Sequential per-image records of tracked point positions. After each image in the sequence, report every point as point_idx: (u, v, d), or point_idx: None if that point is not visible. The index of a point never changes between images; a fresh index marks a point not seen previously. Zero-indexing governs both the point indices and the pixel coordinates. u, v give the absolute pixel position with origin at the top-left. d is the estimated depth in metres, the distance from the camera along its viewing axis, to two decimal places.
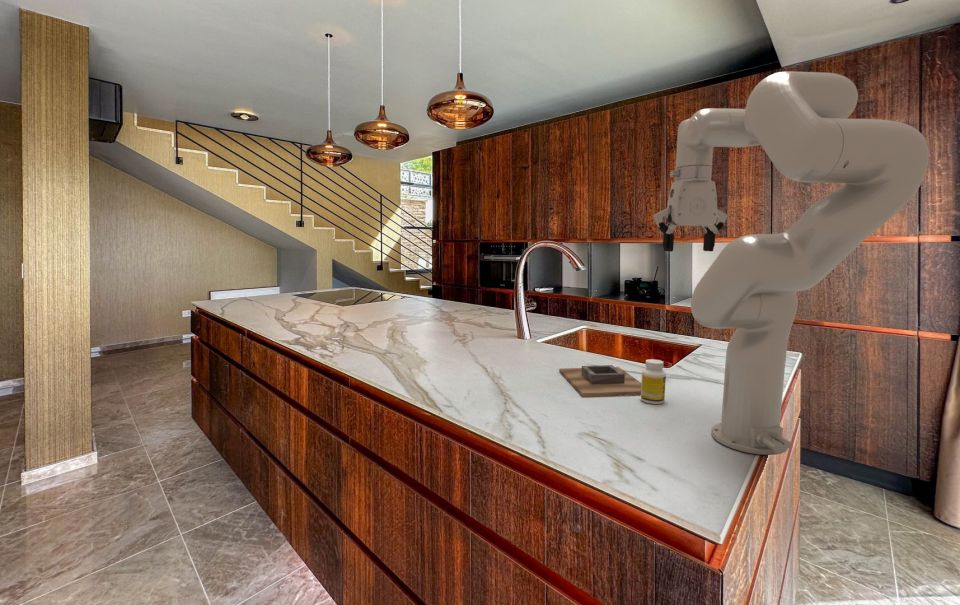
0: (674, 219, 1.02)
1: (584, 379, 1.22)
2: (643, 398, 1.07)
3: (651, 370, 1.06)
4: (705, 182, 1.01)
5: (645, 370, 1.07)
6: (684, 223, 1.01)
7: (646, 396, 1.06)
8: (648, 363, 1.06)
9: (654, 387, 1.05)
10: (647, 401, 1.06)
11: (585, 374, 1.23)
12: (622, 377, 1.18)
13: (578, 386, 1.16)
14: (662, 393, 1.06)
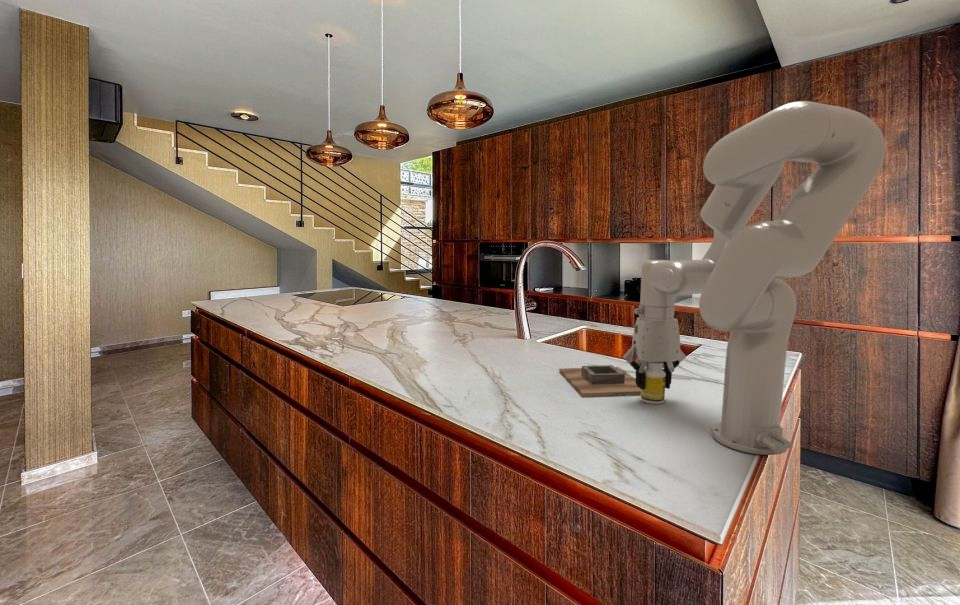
0: (638, 356, 1.04)
1: (584, 379, 1.22)
2: (643, 398, 1.07)
3: (651, 370, 1.06)
4: (668, 321, 1.03)
5: (645, 370, 1.07)
6: (648, 360, 1.04)
7: (646, 395, 1.06)
8: (648, 363, 1.06)
9: (654, 387, 1.05)
10: (647, 401, 1.06)
11: (585, 374, 1.23)
12: (622, 377, 1.18)
13: (578, 386, 1.16)
14: (662, 393, 1.06)
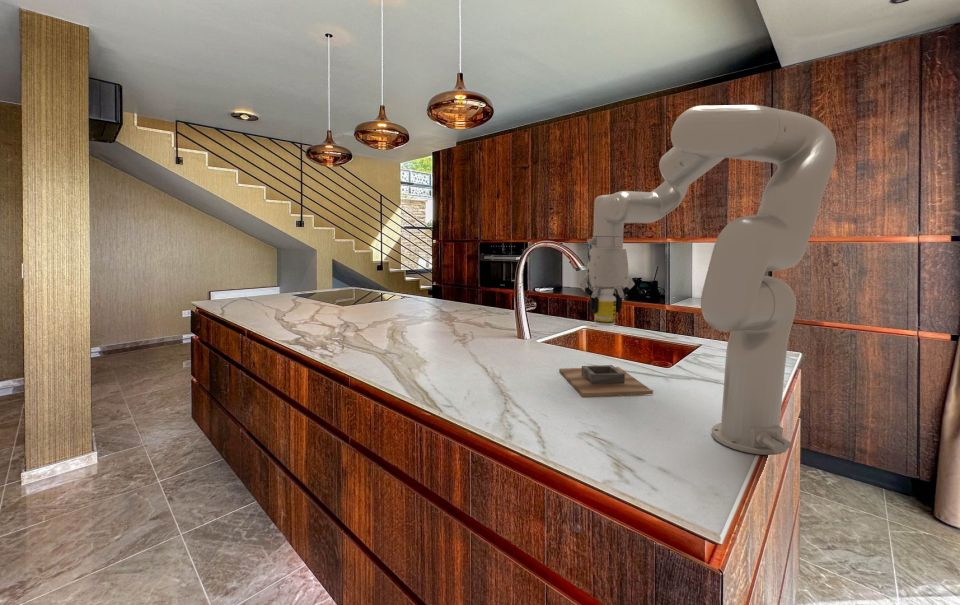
0: (590, 282, 1.16)
1: (584, 379, 1.22)
2: (596, 321, 1.19)
3: (603, 295, 1.18)
4: (617, 250, 1.15)
5: (598, 296, 1.19)
6: (599, 285, 1.16)
7: (598, 318, 1.18)
8: (600, 289, 1.18)
9: (605, 310, 1.17)
10: (599, 323, 1.18)
11: (585, 374, 1.23)
12: (622, 377, 1.18)
13: (578, 386, 1.16)
14: (612, 316, 1.18)
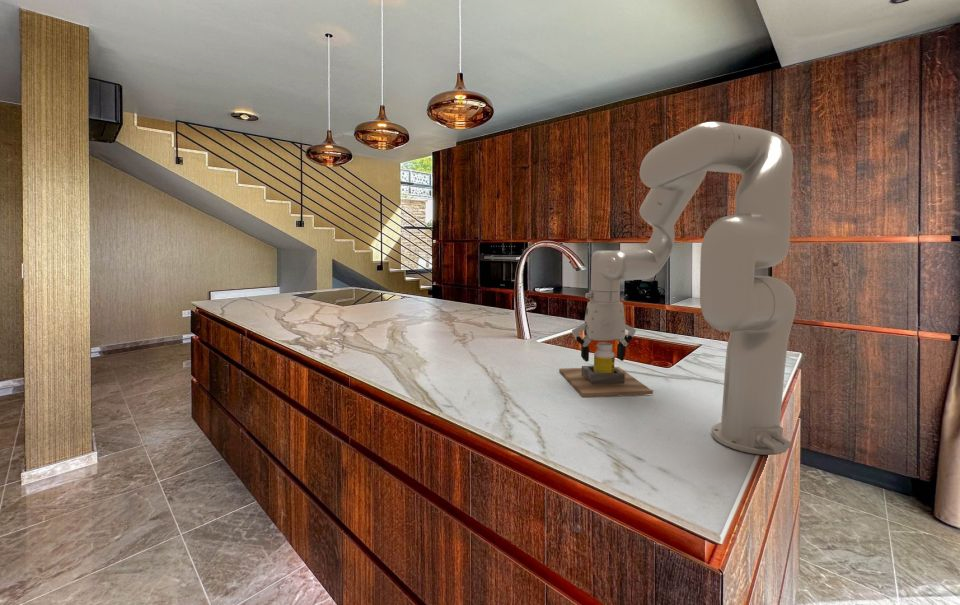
0: (588, 335, 1.18)
1: (584, 379, 1.22)
2: None
3: (601, 351, 1.20)
4: (614, 304, 1.17)
5: (596, 352, 1.21)
6: (596, 339, 1.18)
7: None
8: (599, 345, 1.20)
9: (604, 366, 1.19)
10: None
11: (585, 374, 1.23)
12: (622, 377, 1.18)
13: (578, 386, 1.16)
14: (611, 372, 1.20)
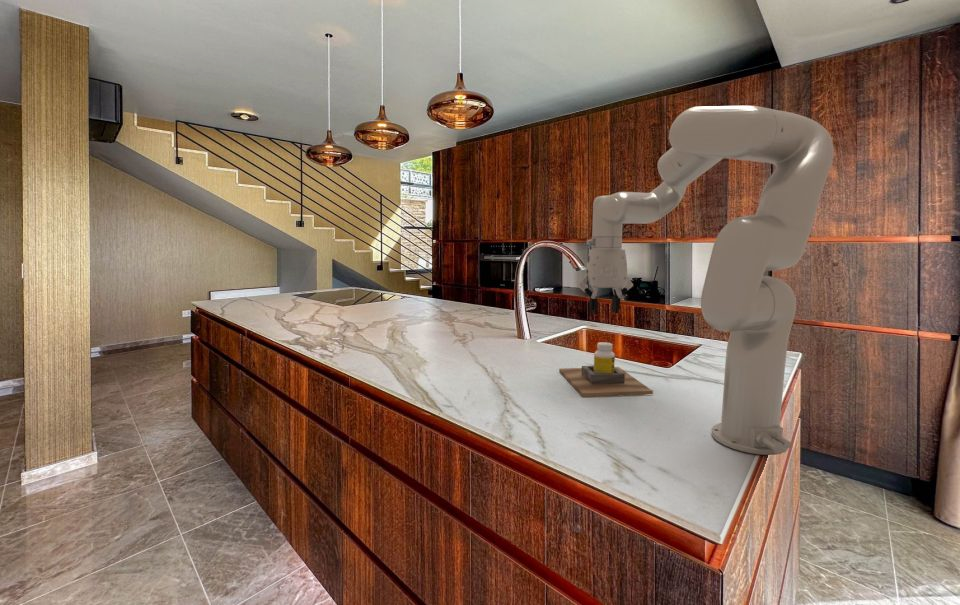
0: (590, 282, 1.16)
1: (584, 379, 1.22)
2: None
3: (601, 351, 1.20)
4: (616, 250, 1.15)
5: (596, 351, 1.21)
6: (598, 286, 1.16)
7: None
8: (599, 345, 1.20)
9: (604, 366, 1.19)
10: None
11: (585, 374, 1.23)
12: (622, 377, 1.18)
13: (578, 386, 1.16)
14: (611, 372, 1.20)
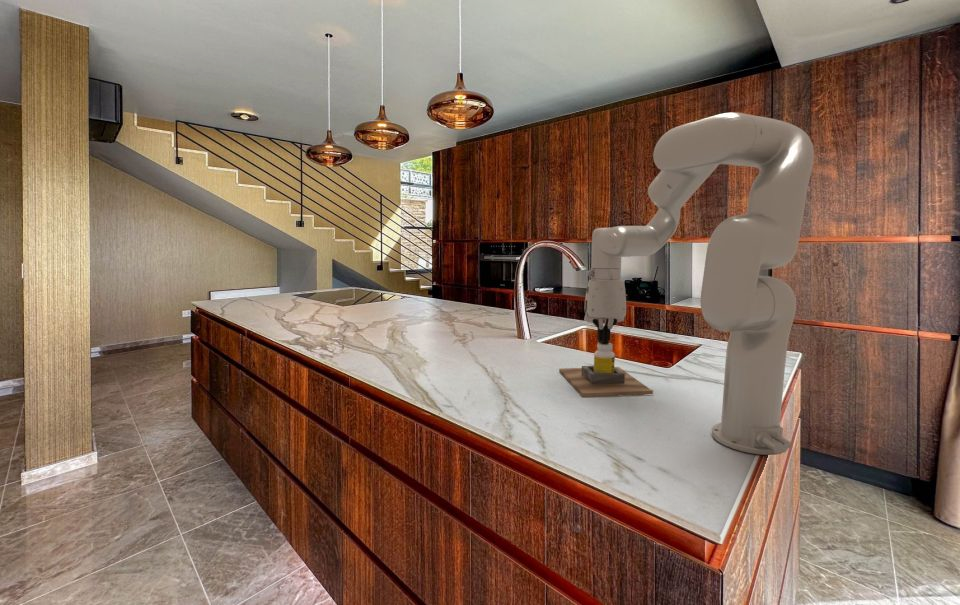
0: (589, 313, 1.17)
1: (584, 379, 1.22)
2: None
3: (601, 351, 1.20)
4: (615, 282, 1.16)
5: (596, 352, 1.21)
6: (597, 317, 1.17)
7: None
8: (599, 345, 1.20)
9: (604, 366, 1.19)
10: None
11: (585, 374, 1.23)
12: (622, 377, 1.18)
13: (578, 386, 1.16)
14: (611, 372, 1.20)
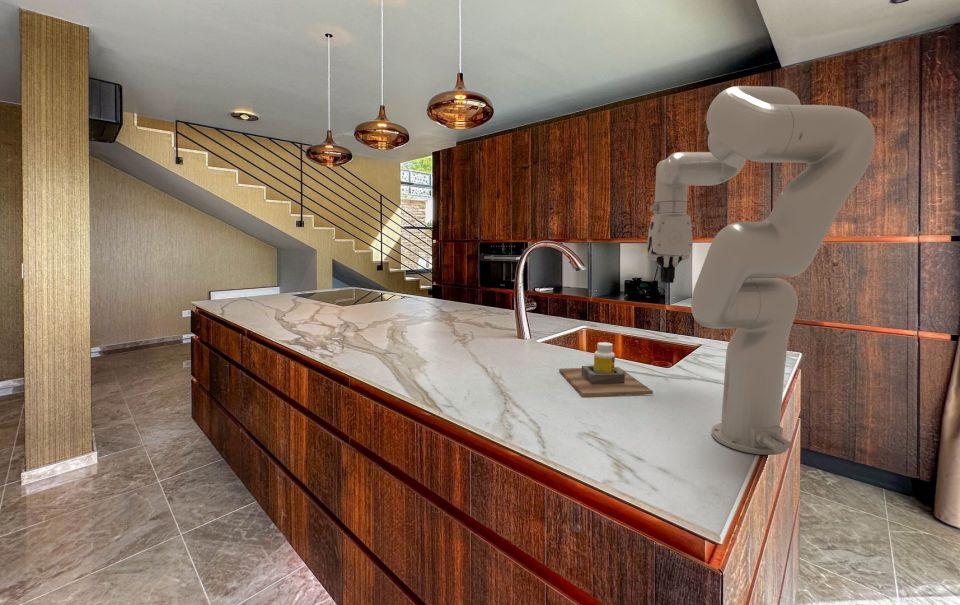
0: (654, 249, 1.12)
1: (584, 379, 1.22)
2: None
3: (601, 351, 1.20)
4: (681, 216, 1.11)
5: (597, 352, 1.21)
6: (663, 253, 1.12)
7: None
8: (599, 345, 1.20)
9: (604, 366, 1.19)
10: None
11: (585, 374, 1.23)
12: (622, 377, 1.18)
13: (578, 386, 1.16)
14: (611, 372, 1.20)
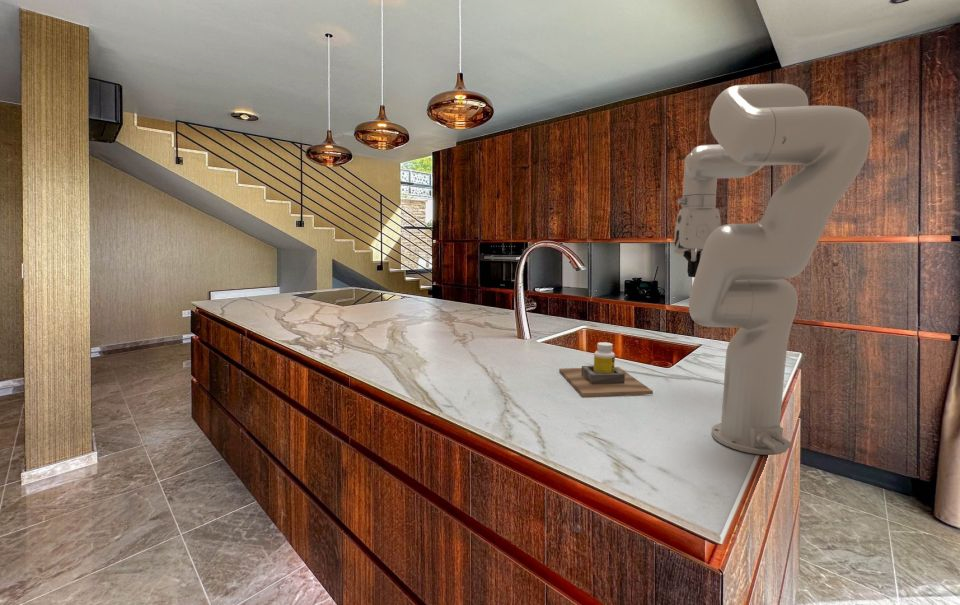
0: (682, 243, 1.11)
1: (584, 379, 1.22)
2: None
3: (601, 351, 1.20)
4: (710, 209, 1.10)
5: (596, 352, 1.21)
6: (691, 247, 1.11)
7: None
8: (599, 345, 1.20)
9: (604, 366, 1.19)
10: None
11: (585, 374, 1.23)
12: (622, 377, 1.18)
13: (578, 386, 1.16)
14: (611, 372, 1.20)
